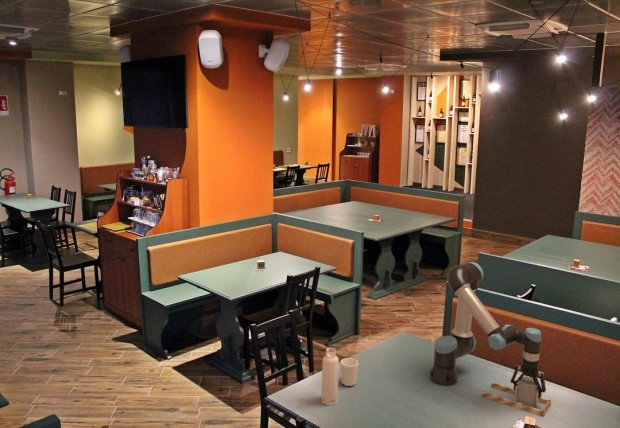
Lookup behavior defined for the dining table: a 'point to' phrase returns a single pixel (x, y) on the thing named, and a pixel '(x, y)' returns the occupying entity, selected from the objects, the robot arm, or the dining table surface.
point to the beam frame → (516, 404)
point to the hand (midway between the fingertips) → (526, 399)
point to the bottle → (330, 377)
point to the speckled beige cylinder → (527, 391)
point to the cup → (349, 371)
